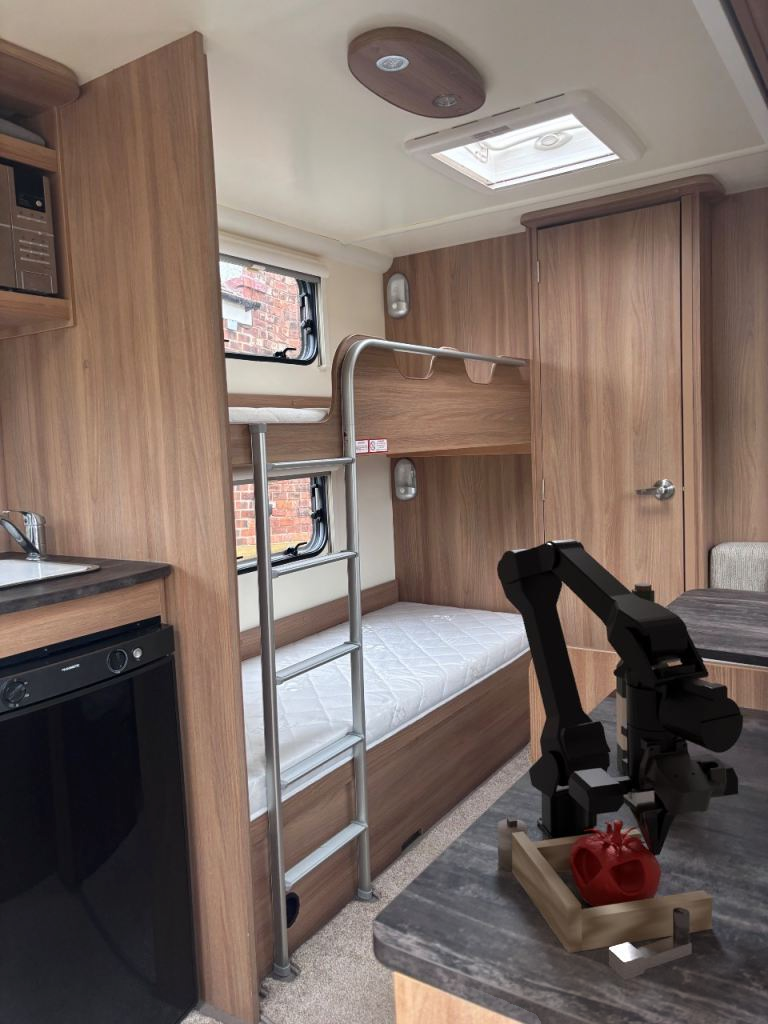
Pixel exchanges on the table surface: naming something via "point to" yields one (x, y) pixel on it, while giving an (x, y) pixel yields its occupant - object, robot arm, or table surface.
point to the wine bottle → (647, 594)
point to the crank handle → (653, 949)
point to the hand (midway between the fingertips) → (654, 853)
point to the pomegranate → (613, 867)
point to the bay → (563, 910)
